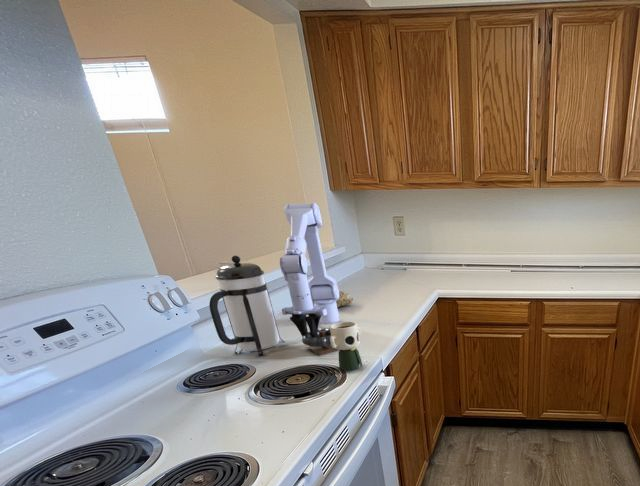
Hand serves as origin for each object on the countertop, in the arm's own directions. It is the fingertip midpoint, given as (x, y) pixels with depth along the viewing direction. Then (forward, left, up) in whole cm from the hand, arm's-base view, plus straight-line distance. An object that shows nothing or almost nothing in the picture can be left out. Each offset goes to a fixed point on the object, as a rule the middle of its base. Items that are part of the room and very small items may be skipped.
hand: (310, 336), depth 134 cm
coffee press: (-12, -12, -4) cm, 18 cm away
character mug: (+26, -1, -4) cm, 26 cm away
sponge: (-42, +29, -4) cm, 51 cm away
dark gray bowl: (+4, +2, 0) cm, 5 cm away
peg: (+4, +2, -4) cm, 6 cm away
